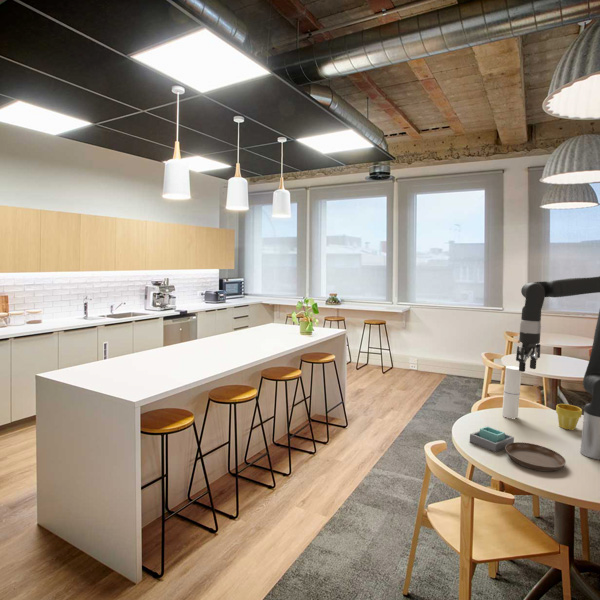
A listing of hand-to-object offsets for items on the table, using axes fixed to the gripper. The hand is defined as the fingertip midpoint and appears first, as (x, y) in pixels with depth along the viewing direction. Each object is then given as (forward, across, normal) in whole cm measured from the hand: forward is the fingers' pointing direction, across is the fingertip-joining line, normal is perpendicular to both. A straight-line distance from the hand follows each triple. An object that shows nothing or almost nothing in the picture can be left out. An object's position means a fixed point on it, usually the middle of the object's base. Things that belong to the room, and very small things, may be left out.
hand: (527, 370), depth 176 cm
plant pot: (+33, -41, 0) cm, 53 cm away
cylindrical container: (+33, -30, -22) cm, 50 cm away
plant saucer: (+33, +9, +10) cm, 36 cm away
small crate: (+32, +9, -8) cm, 34 cm away
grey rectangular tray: (+32, +9, -8) cm, 35 cm away
